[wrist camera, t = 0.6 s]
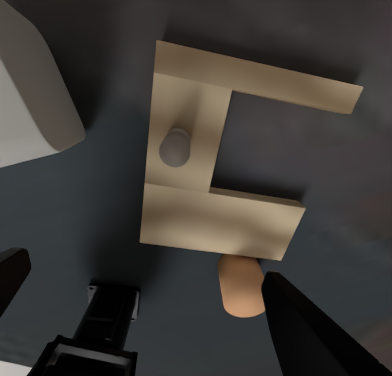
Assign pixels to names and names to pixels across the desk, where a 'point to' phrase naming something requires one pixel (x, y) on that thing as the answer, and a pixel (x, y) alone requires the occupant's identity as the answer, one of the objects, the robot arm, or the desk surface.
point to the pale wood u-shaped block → (208, 148)
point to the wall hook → (32, 95)
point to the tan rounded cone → (241, 285)
